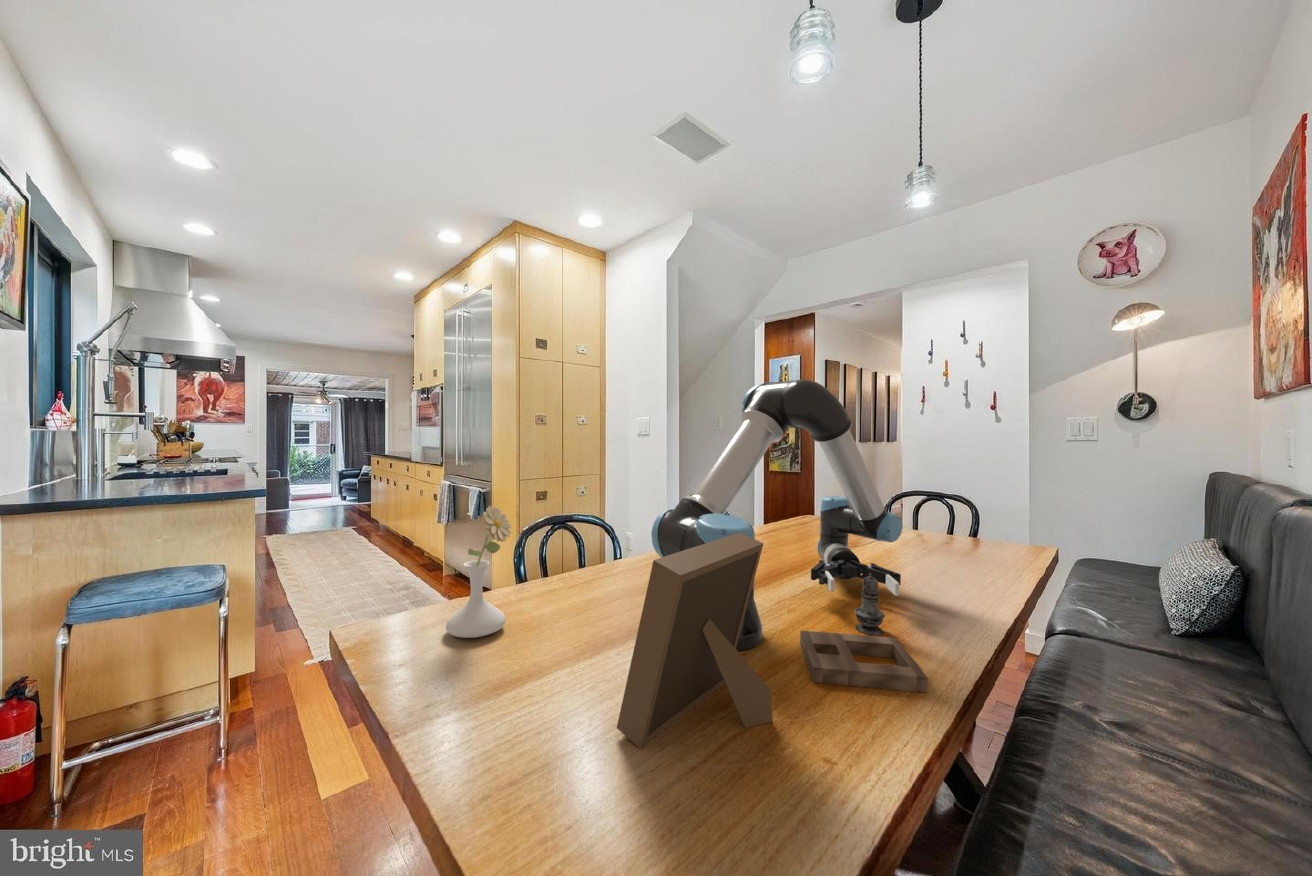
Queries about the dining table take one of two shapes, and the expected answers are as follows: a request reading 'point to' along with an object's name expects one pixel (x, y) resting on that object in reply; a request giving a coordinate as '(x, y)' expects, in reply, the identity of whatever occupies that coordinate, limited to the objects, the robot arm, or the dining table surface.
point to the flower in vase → (477, 611)
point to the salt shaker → (869, 608)
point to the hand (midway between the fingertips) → (864, 587)
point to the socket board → (838, 666)
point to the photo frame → (693, 639)
